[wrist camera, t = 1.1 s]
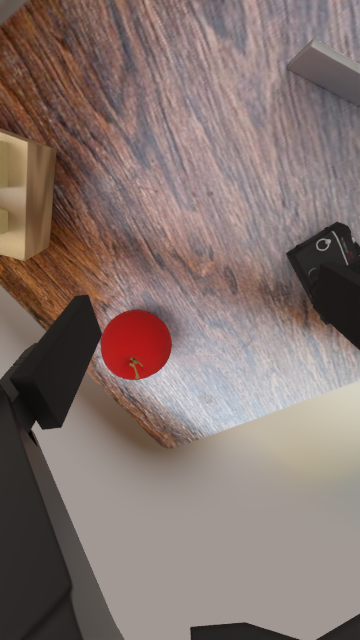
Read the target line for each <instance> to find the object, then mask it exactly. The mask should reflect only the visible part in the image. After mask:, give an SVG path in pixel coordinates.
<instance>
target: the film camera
mask: <svg viewBox="0 0 360 640" xmlns="http://www.w3.org/2000/svg"><path fill="white" fill-rule="evenodd" d="M350 234H351V231H350V229H349V227H348V226H346V225H345V224H342V223H339V222H336V223H334V224H333V225H331V226H330V227H326V228H325V230H323V231H322V232H320V233H318V234H317V235H315V236H314V237H312V238H310V239H309V240H307V241H306V242H304V243H302V244H301V245H297V246H296V248H294V249H293V250H291V251H290V252H288V253H286V254H287V256H288V259H289V261H290V262H291V264H292V266H293V268H294V270H295V272H296V274H297V276H298V278H299V280H300V281H301V283H302V285H303V287H304V289H305V291H306V293H307V295H308V297H309V299H310V300H311V302H312V304H314V298H315V292H316V286H317V280H318V274H319V268H320V264H321V263H329V262H336V263H338V264H339V265H341V266H343V267H345V268H347V269H349V270H351V271H353V272H355V273H357V274H359V275H360V256H359V255H360V246H359V245H358V244H357V243H356V242H355V239H354V238H353V237H352V238H351V235H350ZM319 315H320V318H321V320H322V321H323V322H324V323H325V324H326V325H327V324H329V322H328V321H327V320H326V319H325V318H324V317H323V316H322V315H321V314H319Z"/></svg>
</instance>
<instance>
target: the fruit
mask: <svg viewBox="0 0 360 640" xmlns="http://www.w3.org/2000/svg"><path fill="white" fill-rule="evenodd" d="M171 347H172V341H171V336H170V332H169V330H168V328H167V326H166V325H165V324H164V323H163V321H161V320H160V319H159V318H158V317H156V316H155V315H153V314H151V313H149V312H146V311H141V310H131V311H127V312H124V313H122V314H120V315H118V316H116V317H115V318H114V319H112V320H111V322H110V323H109V324H108V325H107V327H106V328H105V330H104V332H103V335H102V338H101V353H102V357H103V360H104V362H105V364H106V366H107V368H108V369H109V370H110V371H111V372H113V373H114V374H115V375H116V376H118V377H121V378H124V379H129V380H139V379H143V378H147V377H149V376H151V375H153V374H155V373H156V372H158V371H159V370H160V369H161V368H162V367H163V366H164V365H165V364H166V362H167V360H168V359H169V356H170V353H171Z"/></svg>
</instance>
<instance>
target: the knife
mask: <svg viewBox="0 0 360 640" xmlns="http://www.w3.org/2000/svg"><path fill="white" fill-rule="evenodd" d="M287 69H289V70H291V71H293V72H294V73H296V74H298V75H300V76H302V77H304V78H306V79H308V80H310V81H312V82H313V83H315V84H317V85H319V86H321V87H323V88H325V89H327V90H329V91H330V92H332V93H334V94H336V95H338V96H340V97H342V98H344V99H346V100H347V101H349V102H351V103H353V104H355V105H357V106H359V107H360V64H359V63H357V62H355V61H354V60H352V59H350V58H348V57H347V56H345V55H343V54H341V53H340V52H338V51H336V50H334V49H333V48H331V47H329V46H327V45H326V44H324V43H322V42H320V41H319V40H317V39H315V38H313V39H312V40H311V41H310V42H309V43H308V44H307V45H306V46H305V47H304V48H303V49H302V50H301V51H300V52H299V53H298V54H297V55H296V56H295V57H294V58H293V59H292V60H291V61H290V62H289V64H288V67H287Z"/></svg>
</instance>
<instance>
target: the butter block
mask: <svg viewBox="0 0 360 640" xmlns="http://www.w3.org/2000/svg"><path fill="white" fill-rule="evenodd" d="M6 187H8V142H7V141H4V140H1V139H0V188H6Z"/></svg>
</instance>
